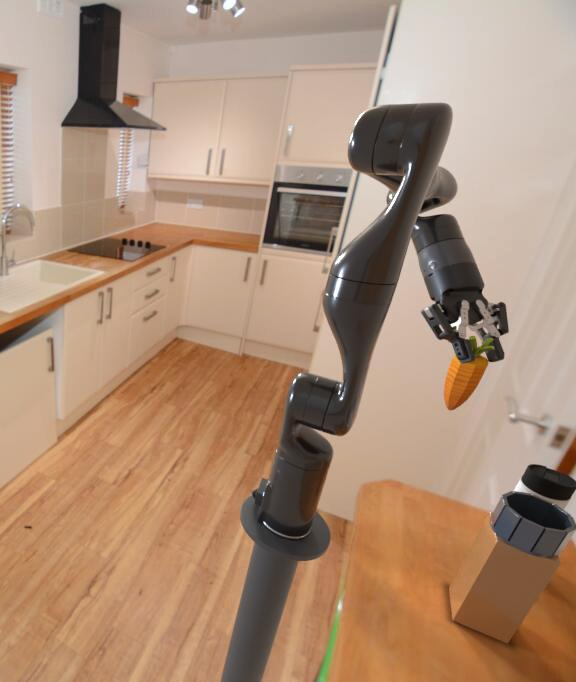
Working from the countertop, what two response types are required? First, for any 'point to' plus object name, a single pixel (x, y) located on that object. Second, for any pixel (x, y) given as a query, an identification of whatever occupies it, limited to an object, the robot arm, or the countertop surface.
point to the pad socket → (509, 564)
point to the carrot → (465, 375)
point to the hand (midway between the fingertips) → (482, 361)
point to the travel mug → (547, 484)
